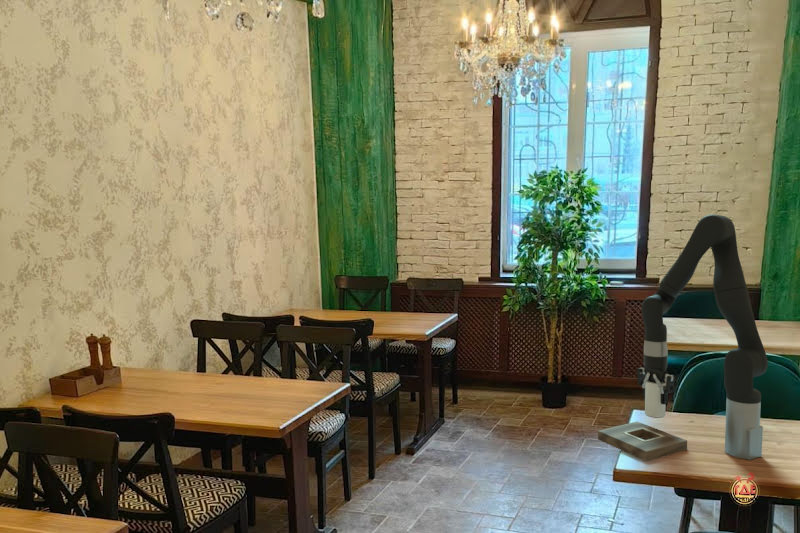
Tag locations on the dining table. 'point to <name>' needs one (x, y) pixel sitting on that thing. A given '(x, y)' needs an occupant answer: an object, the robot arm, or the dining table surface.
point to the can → (653, 400)
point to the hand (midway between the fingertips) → (655, 401)
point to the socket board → (632, 443)
